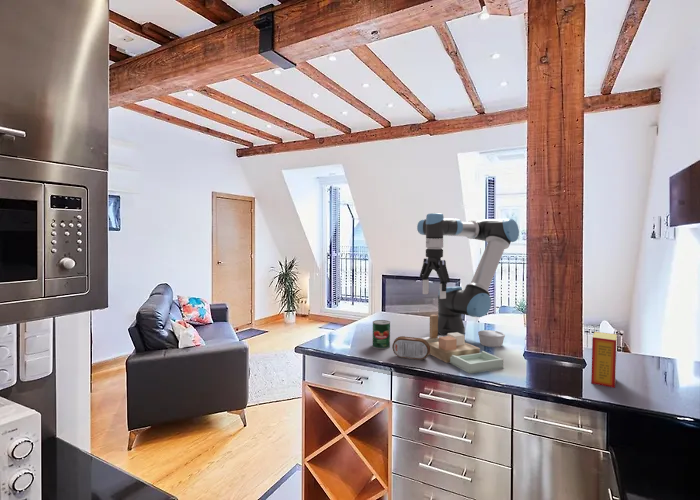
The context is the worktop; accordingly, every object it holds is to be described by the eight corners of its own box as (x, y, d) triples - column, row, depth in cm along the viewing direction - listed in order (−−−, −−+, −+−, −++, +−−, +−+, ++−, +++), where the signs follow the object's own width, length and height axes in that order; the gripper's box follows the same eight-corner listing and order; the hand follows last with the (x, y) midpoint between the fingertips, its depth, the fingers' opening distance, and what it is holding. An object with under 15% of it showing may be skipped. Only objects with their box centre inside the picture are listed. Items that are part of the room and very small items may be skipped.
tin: (430, 359, 155) (430, 338, 155) (429, 361, 152) (429, 340, 152) (393, 355, 160) (393, 335, 160) (391, 357, 157) (391, 336, 157)
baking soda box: (593, 375, 138) (594, 330, 137) (615, 379, 134) (616, 333, 133) (591, 383, 130) (592, 336, 129) (614, 387, 126) (616, 339, 126)
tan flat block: (458, 348, 169) (458, 339, 169) (479, 358, 156) (479, 348, 156) (426, 352, 164) (426, 343, 164) (446, 362, 151) (446, 352, 150)
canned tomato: (377, 349, 168) (377, 324, 167) (369, 344, 175) (369, 320, 174) (393, 347, 170) (393, 323, 170) (385, 343, 178) (385, 319, 177)
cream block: (457, 341, 166) (457, 332, 166) (464, 344, 161) (464, 335, 161) (447, 342, 164) (447, 333, 164) (454, 345, 160) (454, 336, 159)
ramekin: (510, 347, 172) (510, 335, 172) (488, 349, 169) (488, 337, 169) (493, 340, 183) (493, 329, 183) (473, 342, 180) (473, 331, 179)
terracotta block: (448, 345, 160) (449, 336, 160) (456, 349, 155) (456, 339, 155) (438, 346, 158) (438, 337, 158) (445, 350, 153) (446, 340, 153)
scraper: (444, 343, 177) (445, 313, 176) (448, 345, 174) (449, 314, 174) (418, 347, 172) (418, 315, 171) (421, 348, 169) (422, 317, 169)
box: (481, 358, 155) (481, 350, 155) (503, 368, 144) (503, 359, 144) (450, 363, 150) (450, 354, 150) (470, 373, 139) (470, 364, 139)
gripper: (412, 247, 182) (412, 292, 182) (443, 249, 158) (443, 301, 159) (426, 247, 184) (425, 291, 185) (458, 249, 161) (458, 300, 162)
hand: (433, 296), depth 172 cm, fingers open, 13 cm apart
